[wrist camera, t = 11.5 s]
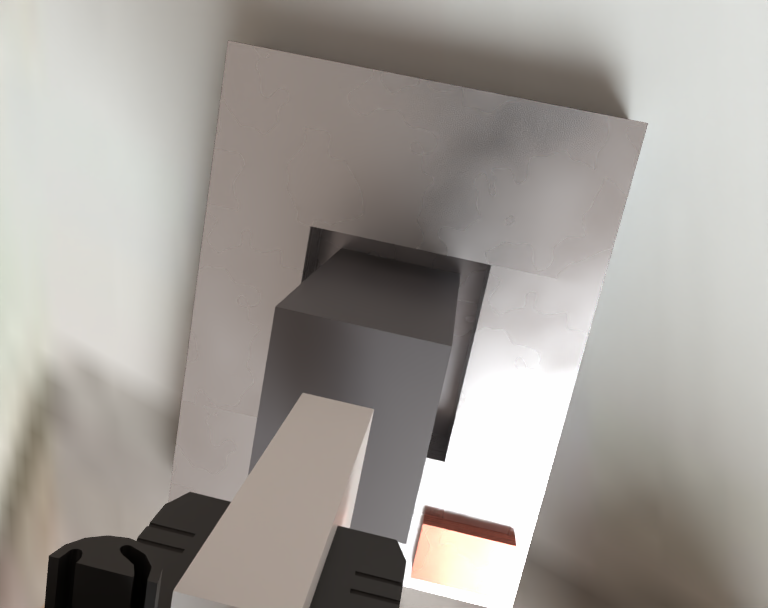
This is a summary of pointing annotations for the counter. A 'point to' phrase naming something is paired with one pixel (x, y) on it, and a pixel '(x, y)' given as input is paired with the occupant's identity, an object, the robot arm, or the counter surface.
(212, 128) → the counter surface
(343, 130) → the socket plate
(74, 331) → the counter surface
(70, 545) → the robot arm
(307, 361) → the plug
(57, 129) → the counter surface
